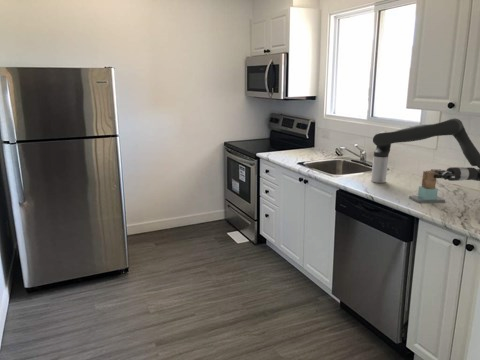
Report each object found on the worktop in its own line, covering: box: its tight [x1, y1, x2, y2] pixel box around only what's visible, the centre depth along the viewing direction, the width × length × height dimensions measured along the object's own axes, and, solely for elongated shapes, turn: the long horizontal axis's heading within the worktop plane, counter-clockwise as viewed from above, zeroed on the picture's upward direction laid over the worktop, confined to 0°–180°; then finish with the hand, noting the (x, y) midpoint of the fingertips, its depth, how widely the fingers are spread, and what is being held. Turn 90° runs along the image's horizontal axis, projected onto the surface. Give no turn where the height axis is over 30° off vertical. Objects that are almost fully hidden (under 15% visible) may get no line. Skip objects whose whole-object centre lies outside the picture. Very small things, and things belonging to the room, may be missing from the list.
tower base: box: [408, 185, 446, 204], centre depth 219 cm, size 9×16×7 cm, turn 96°
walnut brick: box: [421, 170, 437, 189], centre depth 217 cm, size 5×5×9 cm
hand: (429, 174), depth 216 cm, fingers open, 8 cm apart
